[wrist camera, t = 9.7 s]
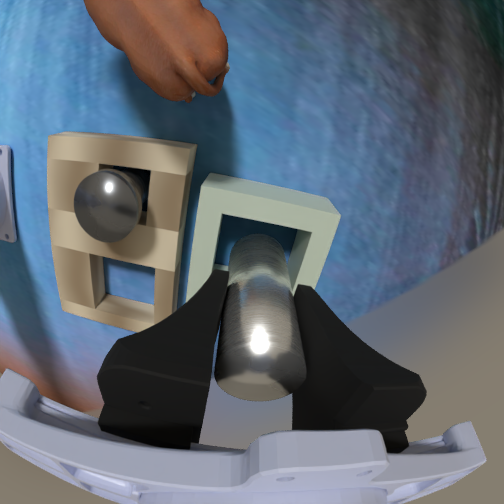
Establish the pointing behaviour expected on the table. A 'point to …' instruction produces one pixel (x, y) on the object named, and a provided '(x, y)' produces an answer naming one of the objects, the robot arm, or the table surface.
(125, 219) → the round dark knob
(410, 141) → the table surface
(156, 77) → the bull figurine
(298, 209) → the grey-green hollow square block
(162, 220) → the socket block
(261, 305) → the silver metal cylinder
